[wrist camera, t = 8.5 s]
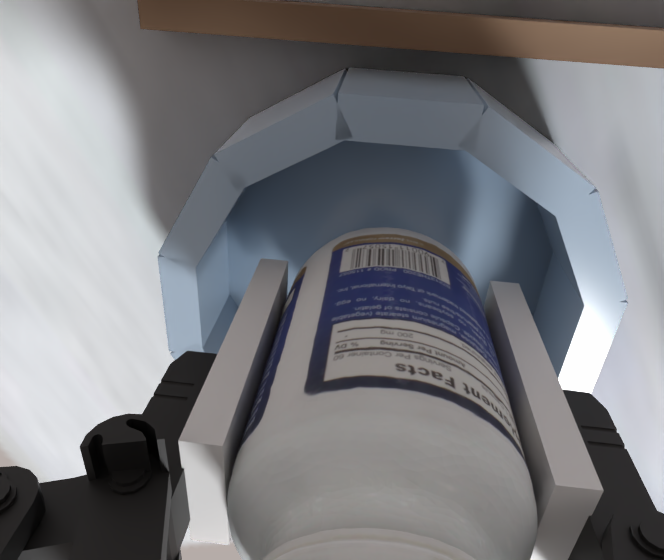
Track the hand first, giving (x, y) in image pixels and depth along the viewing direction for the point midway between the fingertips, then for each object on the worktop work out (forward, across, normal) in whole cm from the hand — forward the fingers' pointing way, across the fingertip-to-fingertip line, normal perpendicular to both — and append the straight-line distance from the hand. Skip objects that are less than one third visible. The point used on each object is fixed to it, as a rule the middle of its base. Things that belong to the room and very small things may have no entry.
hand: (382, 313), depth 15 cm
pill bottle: (+1, 0, 0) cm, 1 cm away
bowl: (+3, 0, 0) cm, 3 cm away
